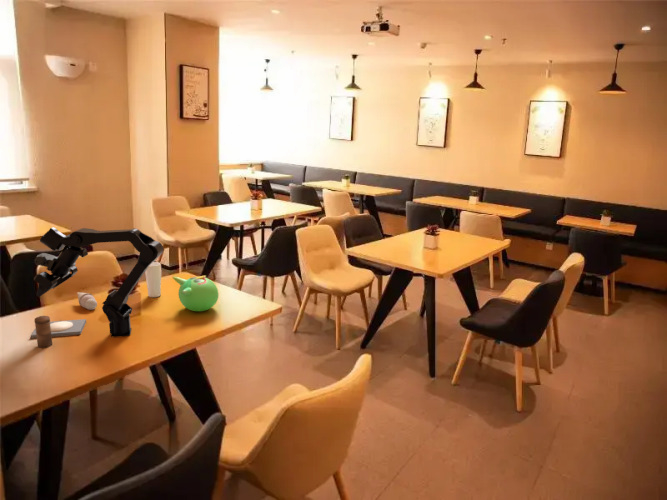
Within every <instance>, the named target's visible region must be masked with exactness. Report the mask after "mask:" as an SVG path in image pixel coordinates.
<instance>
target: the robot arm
mask: <svg viewBox="0 0 667 500" xmlns="http://www.w3.org/2000/svg"><path fill="white" fill-rule="evenodd" d="M39 242H40V243H41V244H42V245H44V246H45V247H47V248H49V249H50V250H52V251H53V252H56V251H59V252H60V253H59V254H58V256H56V255H53V254H49V253H46V252H42V253H39V254H37V256H36V257H35V258H34V260H33V261H34V264H35V265H36V266H42V267H46V270H47V271H49V272H50V273H51V274H50V273H49V272H47V271H40V272H39V273H37V274H36V275H35V276H34V277H33V281H35V282H36V283H37V284H38V285H37V291H36V296H37V297H38V298H40V297H42V296H43V295H44V294H46V293H48V292H49V291H50V290H52V289H55V288H56V287H58V286H61V285H62V284H63V283H65V282H67V281H68V280H69V279H70V278H73V276H75V275H76V274H77V273H78V267H77V266H76V264H77V263H76V262H77V260H78V258H80V257H81V258H85V257H86V256H89V255H88V254H89V253H88V250H87V248H85V247H87V246H91V245H94V244H99V243H118V242H129V243H130V244H131V245H132V246H133V247H134V248H135V250H136V251H137V252H139V255H138V259H137V262H136V264H135V265H134V266H133V268H132V269H131V271H130V272H129V274H128V275H127V277H126V278H125V279H124V281H123V282H122V284H121V285H120V287H119V288H118V290H116V289H114V290H113V291H111V292H110V293H109V294H108V295H107V296H106V298H105V300H104V301H103V302H102V303H101V304H102V307H101V309H102V311H103V313H104V315H105V316H106V318H107V320H108V322H109V324H108V325H109V334H110V337H111V338H117V337H128V336H131V332H132V326H131V314H132V312H133V308H132V307H131V306H130V305H129V304H128V301H129V296H130V294H131V293H132V291H133V290H134V288H135V287H136V286H137V284H138V282H139V281H140V280H141V278H142V277H143V275H144V274H145V271H146V269H147V268H148V267H149V265H150V264H152V263H153V262H156V260H157V259H158V258H159V257H160V256H161V255H162V254H163V253H164V250H165V249H164V245H163V244H162V243H161V242H160V241H157V240H155V239H154V238H152V237H151V236H149V235H147V234H146V233H143V232H142V231H141V230H140V229H138V228H134V227H133V228H129V229H127V228H126V229H113V230H109V229H108V230H97V229H94V228H86V227H83V228H80V229H77V230H75V231H73V232H71V233H70V234H68V235H65V234H63V232H61V231H59V230H58V229H57V228H56V227H54V226H53V227H50V229H49V230H47V231H46V232H45V233H44V234H43V235H42V236H41V237H40V240H39ZM83 247H84V248H83Z"/></svg>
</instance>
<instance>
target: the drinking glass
mask: <svg viewBox="0 0 667 500" xmlns="http://www.w3.org/2000/svg"><path fill="white" fill-rule="evenodd" d="M144 274H145V280H146V287H147V295H148V297H149V298H158V297H160V296H161V295H162V293H161V290H162V289H161V287H162V286H161V285H162V263H160V262H159V261H154V262H153V263H152V264H150V265H149V267H148V268H147V269H146V271H145V272H144Z"/></svg>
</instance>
